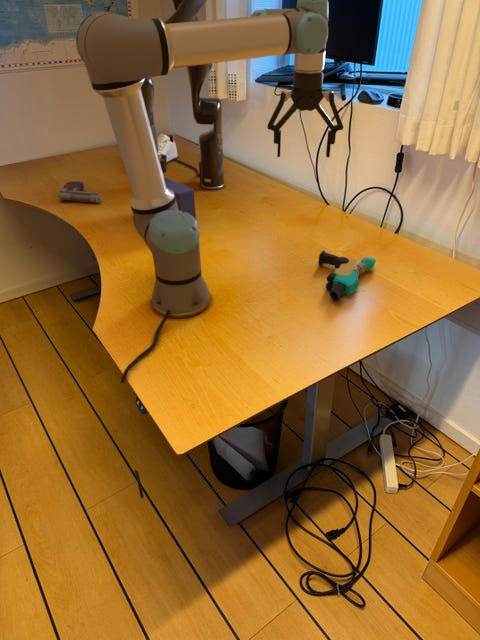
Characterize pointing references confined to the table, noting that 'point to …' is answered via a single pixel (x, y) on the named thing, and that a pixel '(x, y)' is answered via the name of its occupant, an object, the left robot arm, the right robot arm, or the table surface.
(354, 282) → the toy gun
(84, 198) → the toy gun
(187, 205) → the box
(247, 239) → the table surface
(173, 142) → the sneaker
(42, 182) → the table surface
